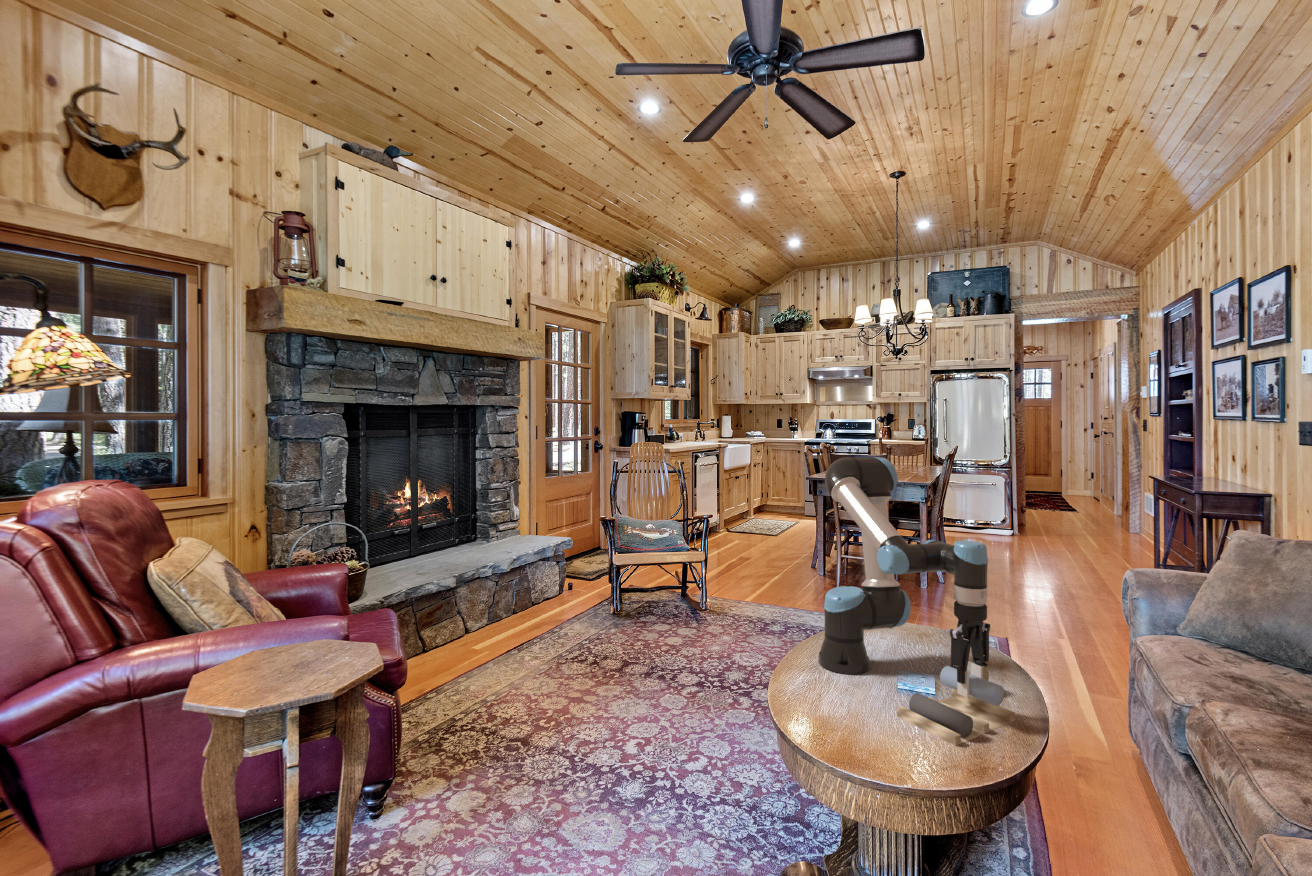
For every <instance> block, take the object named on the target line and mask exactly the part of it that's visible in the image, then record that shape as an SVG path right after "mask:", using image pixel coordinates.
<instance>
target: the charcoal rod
mask: <svg viewBox="0 0 1312 876" xmlns="http://www.w3.org/2000/svg"><path fill="white" fill-rule="evenodd" d="M908 701H909V703H908V708H909V710H911V711H913V712H915V713H917V714H919V715H921V716H923V717H925V718H927V719H929V720H931V721H933V722H935V723H938V724H940V725H942V726H944V727H946V728H948V729H950V730H952V731H954V732H956V733H958V734H960V735H961V736H962V737H964V738H966V737H968V736H969V735H970V734H971V732H972V729H973V720H972V718H971V717H970V716H968V715H966V714H963V713H961V712H959V711H957V710H955V709H952V708H950V707H948V706H946V705H943V704H941V703H939V702H937V701H935V700H932V699H930V698H928V697H927V696H926V695H924V694H921V693H919V692H915V693H913V694H912V695H911V696H910V699H909V700H908Z"/></svg>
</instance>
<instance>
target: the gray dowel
mask: <svg viewBox="0 0 1312 876" xmlns="http://www.w3.org/2000/svg"><path fill="white" fill-rule="evenodd" d="M939 679H940V681H939V682H940V683H941V684H942V685H943V686H945V687H947V688H950V689H955V690H957V669H955V668H952V667H951V666H950V665H945V666H943V668H942V669H941V671H940V675H939ZM1003 687H1004V686H1002V685H1000V684H997V683H995V682H991V681H990V680H988V681H987V680H984V679H982V678H979V677H976V676H974V675H971V674H969V695H970V696H973V697H975V698H978V699H980V700H983V701H985V702H987V703H990V704H992V705H995V706H1001V705H1002V703H1003V700H1004V698H1005V690H1004V688H1003Z"/></svg>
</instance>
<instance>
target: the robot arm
mask: <svg viewBox="0 0 1312 876" xmlns="http://www.w3.org/2000/svg"><path fill="white" fill-rule="evenodd" d="M824 476H825V477H824V484H825V489H826V491H827V492H828V494H829V495H830V497H831V499H833V501H835V502H837V503H840V504H841V506H842V507H843V508H844V509H845V511H846V512H847V514H848V515H849V516H850V517H851V519H853V521H854V522H855V523H856V525H857V526H858V527H859V528H860V531H861V539H862V540H861V541H862V549H863V550H862V551H863V560H864V561H863V563H864V573H865V579H864V581H863V582H862V583H861V587H858V586H852V585H850V586H845V585H842V586H837V587H833V588H831V589H829V590H827V592H826V593H825V596H824V597H825V598H824V604H823V606H824V607H823V608H824V638H823V642H822V644H821V648H820V651H819V653H818V663H819V665H820V666H821V667H822V668H824V669H826V670H828V671H831V672H834V673H839V674H844V675H845V674H846V675H858V674H863V673H866V672H868V671H869V670H870V668H871V667H870V663H871V662H870V658H869V656H868V653H867V649H866V646H865V642H864V641H865V640H864V638H865V637H864V636H865V631H870V630H878V629H879V630H880V629H894V628H896V627H901V626H904V625H905V624H906V623H907V621H908V620H909V618H910V615H911V611H912V606H911V600H910V598H909V596H908V593H907V592H906V591H905V590H903V589H902V588H901V584H900V583H899V581H897V580H896V578H895V575H905V574H906V575H907V574H915V573H930V572H931V573H932V572H945V573H947V574H950V575H953V576H954V577H953V578H954V580H953V599H954V600H955V601H954V603H953V615H954V616H955V617H956V618H957V620H958V621H957V625H956V628H955V629H953V628H950V630H949V634H950V635H949V636H950V667H952V668H955V669H957V693H958V694H960V695H963V696H965V697H969V671H967V666H968V661H970V660H969V658H970V652H971V656H972V662H973V663H975V664H973V663H972V664H971V675H974V676H976V677H979V678H982V679H983V667H985V668H987V667H988V665H989V664H988V662H989V661H990V631H991V624H990V623H988V622H984V621H986V620H987V619H988V605H987V603H988V564H989V558H988V548H987V546H986V544H985V543H983V542H980V541H975V540H970V539H969V540H968V539H967V540H965V539H963V540H961V539H960V540H956V541H955V542H954V545H953V544H951V543H946V542H945V541H941V540H933V539H930V540H926V541H925V542H922V543H914V544H913V543H910V544H909V543H908V542H907V541H906V539H905V538H904V537H903V536H902V535H901V534H900V533H899V532H898V530H897V529H896V528H895V527H894V526H893V524H892V523H891V522H890V521H889V511H888V509H889V508H888V502H889V501H890V500H891V499H892V493H893V492H894V491H895V490H896V488H897V485H898V483H899V482H898V481H899V480H898V479H899V477H898V471H897V470H896V467H895V466H894V464H893V463H892V462H891V461H890V460H889V459H888V458H885V457H881V456H880V457H877V456H863V457H862V456H861V457H841V458H839V459H836V460H835V461H832V463H831V464H830V465H829V466H828V467H827V470H826V472H825V475H824Z"/></svg>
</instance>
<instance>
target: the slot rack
mask: <svg viewBox="0 0 1312 876" xmlns="http://www.w3.org/2000/svg"><path fill="white" fill-rule="evenodd" d="M928 698H930V699H932V700H935V701H937V702H939V703H941V704H943V705H946V706H948V707H950V708H952V709H955V710H957V711H959V712H961V713H963V714H966V715H968V716H970V717H971V718H972V720H973V729H972V732H971V734H970V735H969V736H968V737H966V738H964V737H962V736H961V735H960V734H958V733H956V732H954V731H952V730H950V729H948V728H946V727H944V726H942V725H940V724H938V723H935V722H933V721H931V720H929V719H927V718H925V717H923V716H921V715H919V714H917V713H915V712H913V711H911V710H910V708H909V709H908V708H906V707H904V706H902V705H901V706H899V707H897V708H896V717H897V718H900V719H902V720H904V721H906V722H907V723H910V724H912V725H914V726H915V727H917V728H919V729H922V730H924V731H925V732H928V734H931V735H933V736H935V737H937V738H939V739H940V740H942V741H945V742H947V743H948V744H950V745H952V746H954V747H957V746H958V745H962V744H963V743H965V742H968V741H970V740H973V739H974V738H977V737H978V738H979V737H980V736H982V735H985V734H987V733H990V732H991V731H994V730H997V729H999V728H1001V727H1003V726H1006V725H1009V724H1011V723H1013V722H1015V721H1016V711H1013V710H1010V709H1008V708H1005V707H1003V706H1001V705H999V706H995V705H992V704H990V703H987V702H985V701H983V700H980V699H978V698H975V697H973V696H970V695H969V697H965V696H963V695H960V694H958V693H957V690H955V689H953V688H951V696H950V697H948V698H947V697H946V698H944V699H941V700H938V699H937V698H934V697H932V696H929V697H928Z"/></svg>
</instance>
